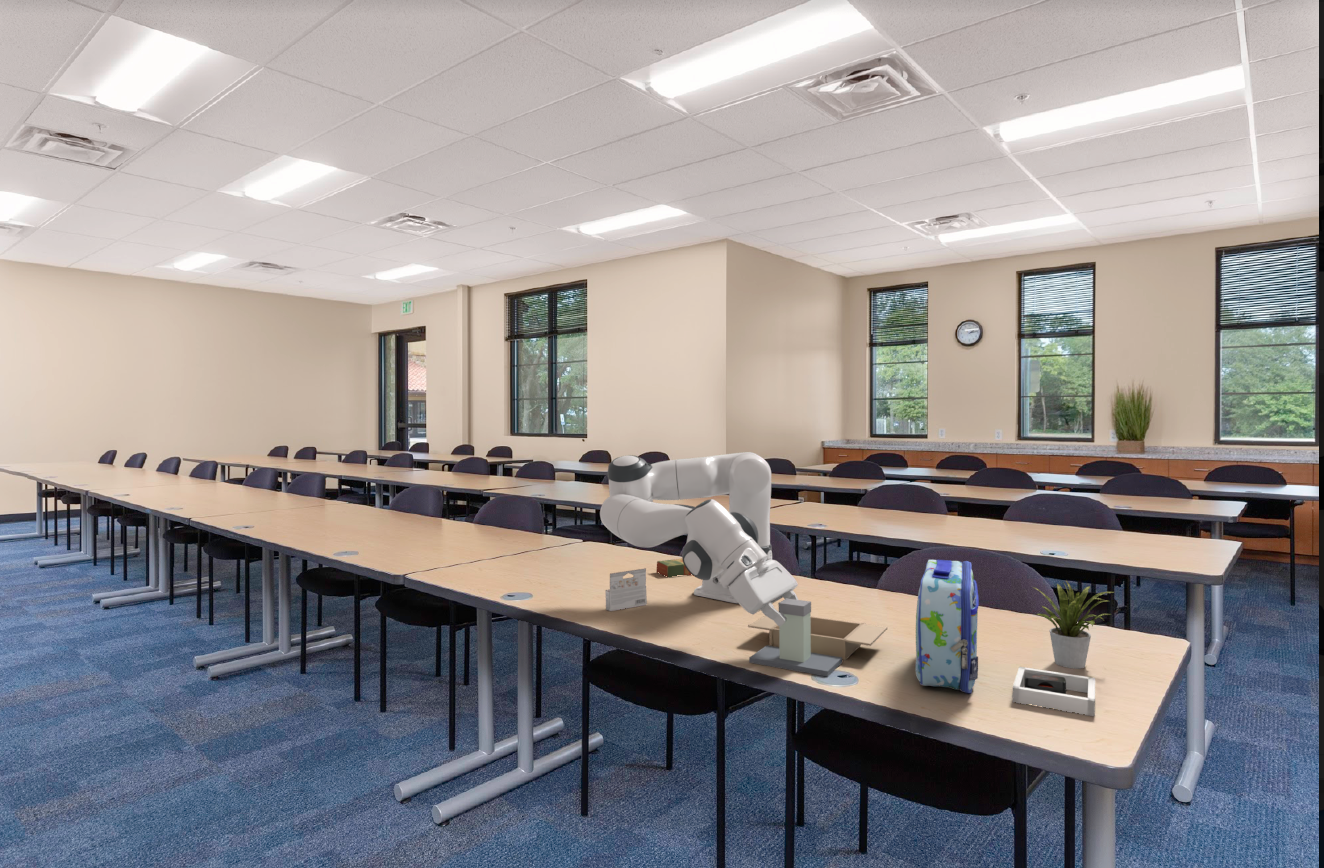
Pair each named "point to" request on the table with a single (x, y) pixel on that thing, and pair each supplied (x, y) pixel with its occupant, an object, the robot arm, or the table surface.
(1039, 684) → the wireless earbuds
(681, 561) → the carton
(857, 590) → the table surface
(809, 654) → the block
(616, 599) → the ink cartridge box
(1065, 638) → the house plant
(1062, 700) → the dish
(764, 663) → the slate mat
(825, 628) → the open cardboard box
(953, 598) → the lunch box
